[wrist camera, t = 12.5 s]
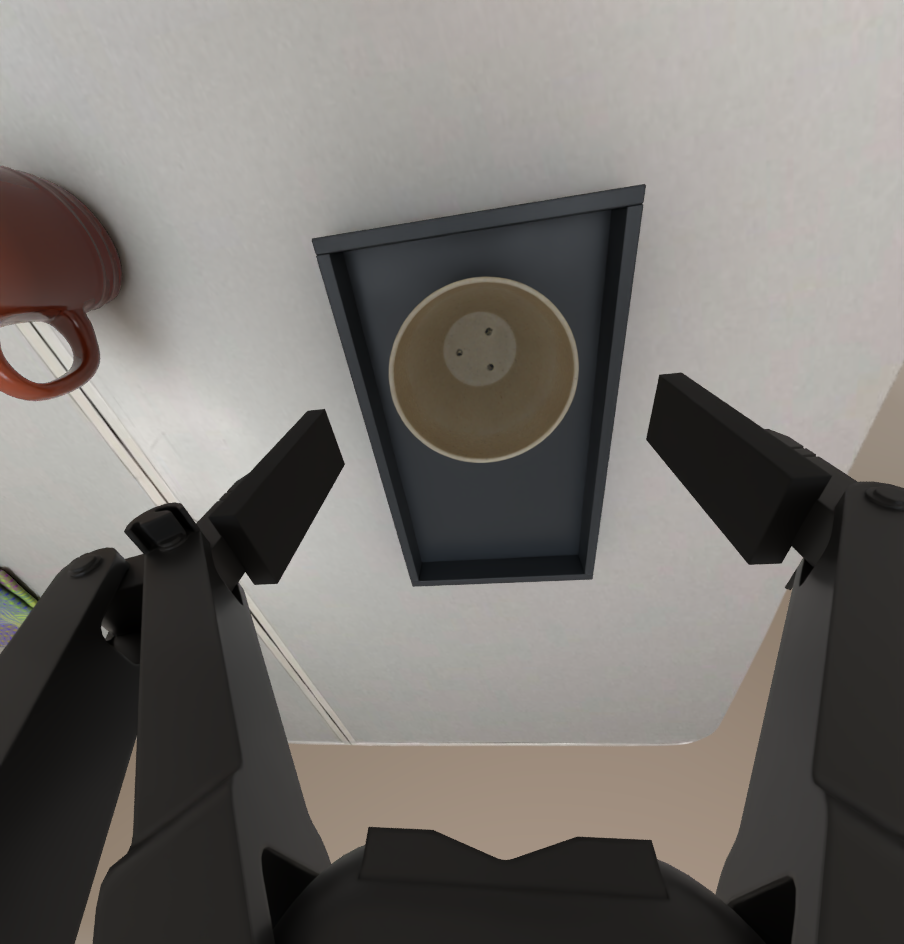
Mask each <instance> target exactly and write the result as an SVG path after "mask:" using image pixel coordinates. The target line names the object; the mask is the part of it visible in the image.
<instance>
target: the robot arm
mask: <svg viewBox="0 0 904 944" xmlns="http://www.w3.org/2000/svg"><path fill="white" fill-rule="evenodd" d="M646 440H647V441H648V442H649V444H650V445H651V446H652V447H653V449H654V450H655V451H656V452H657V453H658V455H659V456H660V457H661V458H662V459H663V461H664V462H665V463H666V464H667V466H668V467H669V468H670V469H671V470H672V472H673V473H674V474H675V475H676V477H677V478H678V479H679V480H680V481H681V483H682V484H683V485H684V486H685V488H686V489H687V490H688V491H689V492H690V494H691V495H692V496H693V497H694V498H695V500H696V501H697V502H698V503H699V505H700V506H701V507H702V508H703V509H704V511H705V512H706V513H707V514H708V516H709V517H710V518H711V519H712V520H713V522H714V523H715V524H716V525H717V526H718V528H719V529H720V530H721V531H722V533H723V534H724V535H725V536H726V537H727V539H728V540H729V541H730V542H731V544H732V545H733V546H734V547H735V548H736V550H737V551H738V552H739V553H740V555H741V556H742V557H743V558H744V559H745V561H746V562H747V563H748V564H749V565H754V564H779V563H782V562H783V560H784V558H785V556H786V555H787V553H788V551H789V550H790V548H791V546H792V547H793V548H794V549H795V550H796V551H797V552H798V553H799V554H800V555H801V556H802V557H803V559H802V561H801V562H800V564H799V566H798V567H797V569H796V571H795V572H794V574H793V575H792V577H791V579H790V580H789V582H788V583H787V585H786V587H785V588H786V589H789V590H791V589H792V588H793V589H792V593H791V598H790V602H789V607H788V611H787V616H786V620H785V625H784V630H783V634H782V639H781V643H780V648H779V652H778V657H777V661H776V666H775V670H774V675H773V679H772V684H771V688H770V694H769V698H768V702H767V707H766V711H765V716H764V720H763V725H762V730H761V734H760V739H759V743H758V748H757V752H756V757H755V761H754V766H753V770H752V775H751V780H750V784H749V788H748V793H747V798H746V802H745V807H744V811H743V816H742V820H741V825H740V828H739V832H738V835H737V838H736V841H735V843H734V845H733V847H732V849H731V851H730V853H729V855H728V857H727V859H726V861H725V865H724V867H723V870H722V872H721V876H720V880H719V883H718V887H717V891H716V895H715V894H714V893H713V892H711V891H710V890H709V889H707V888H706V887H704V886H703V885H702V884H700V883H699V882H697V881H696V880H695V879H693V878H692V877H690V876H689V875H687V874H685V873H684V872H682V871H680V870H678V869H676V868H675V867H673V866H671V865H669V864H667V863H665V862H662V861H660V860H658V859H657V858H656V854H655V851H654V847H653V844H652V840H635V839H615V838H594V837H575V838H572V839H569V840H566V841H563V842H560V843H557V844H555V845H552V846H549V847H546V848H543V849H540V850H537V851H534V852H532V853H528V854H525V855H523V856H520V857H517V858H514V859H510V860H501V859H497V858H495V857H493V856H491V855H488V854H486V853H484V852H482V851H479V850H477V849H475V848H473V847H470V846H468V845H466V844H464V843H461V842H459V841H457V840H454V839H452V838H450V837H448V836H445V835H443V834H441V833H439V832H436V831H434V830H422V829H401V828H380V827H369V828H368V834H367V839H366V844H365V845H364V846H361V847H358V848H357V849H355V850H353V851H351V852H349V853H347V854H345V855H343V856H342V857H341V858H339V859H338V860H336V861H335V862H334V863H332V864H331V862H330V860H329V856H328V853H327V851H326V849H325V846H324V844H323V842H322V839H321V837H320V835H319V834H318V832H317V830H316V828H315V826H314V825H313V823H312V821H311V819H310V816H309V814H308V811H307V808H306V804H305V801H304V797H303V794H302V791H301V787H300V783H299V780H298V776H297V773H296V770H295V766H294V763H293V759H292V756H291V752H290V749H289V745H288V742H287V738H286V735H285V731H284V728H283V724H282V721H281V717H280V714H279V710H278V707H277V703H276V700H275V696H274V693H273V690H272V686H271V683H270V679H269V676H268V672H267V669H266V665H265V662H264V658H263V655H262V651H261V648H260V644H259V641H258V637H257V634H256V630H255V627H254V623H253V620H252V617H251V613H250V610H249V606H248V603H247V599H246V596H245V592H244V589H243V588H242V587H241V585H240V584H239V580H240V579H241V577H242V576H243V574H244V573H245V572H246V573H247V575H248V576H249V578H250V579H251V581H252V582H253V584H254V585H261V584H278V582H279V580H280V579H281V577H282V575H283V573H284V571H285V570H286V568H287V566H288V564H289V563H290V561H291V559H292V557H293V555H294V554H295V552H296V550H297V548H298V547H299V545H300V543H301V541H302V540H303V538H304V536H305V534H306V532H307V531H308V529H309V527H310V525H311V524H312V522H313V520H314V518H315V516H316V515H317V513H318V511H319V509H320V508H321V506H322V504H323V502H324V500H325V499H326V497H327V495H328V493H329V492H330V490H331V488H332V486H333V484H334V483H335V481H336V479H337V477H338V476H339V474H340V472H341V470H342V468H343V467H344V465H345V463H344V461H343V458H342V455H341V452H340V450H339V447H338V444H337V441H336V438H335V436H334V433H333V430H332V427H331V424H330V422H329V419H328V416H327V413H326V411H325V409H321V410H311V411H307V412H306V413H305V414H304V415H303V416H302V417H301V419H300V420H299V421H298V422H297V423H296V424H295V425H294V426H293V427H292V428H291V429H290V430H289V431H288V432H287V433H286V434H285V436H284V437H283V438H282V439H281V440H280V441H279V442H278V443H277V444H276V445H275V446H274V447H273V448H272V449H271V450H270V452H269V453H268V454H267V455H266V456H265V457H264V458H263V459H262V460H261V461H260V462H259V463H258V464H257V465H256V466H255V468H254V469H253V470H252V471H251V472H250V473H249V474H247V475H245V476H244V477H242V478H241V479H239V480H238V481H236V482H235V483H234V485H233V486H232V487H231V488H230V489H229V490H228V491H227V493H225V494H224V495H223V496H222V497H221V498H220V499H219V500H220V501H217V502H216V503H215V504H214V505H213V506H212V507H211V509H210V510H209V511H208V512H207V513H206V514H205V515H204V516H203V517H202V518H201V519H200V520H199V521H198V522H197V523H195V522H194V520H193V519H192V518H191V516H190V515H189V513H188V512H187V511H186V509H185V508H184V507H183V505H182V504H181V503H168V504H164V505H161V506H157V507H155V508H152V509H150V510H148V511H146V512H144V513H143V514H141V515H139V516H138V517H136V518H135V519H134V520H133V521H131V522H130V523H129V524H128V525H127V527H126V529H125V531H124V532H125V533H126V535H127V536H128V537H129V538H130V539H131V540H132V541H133V542H134V544H135V545H136V546H137V547H138V548H139V549H140V550H141V551H142V552H143V554H142V555H138V556H134V557H131V558H127V559H124V558H123V557H122V556H121V555H120V554H119V553H118V552H117V551H116V550H115V549H114V548H102V549H98V550H95V551H92V552H90V553H86V554H84V555H81V556H80V558H79V557H78V558H76V559H74V560H73V561H72V562H71V563H70V564H69V565H67V566H66V567H64V568H63V569H62V570H61V571H60V572H59V573H58V574H57V575H56V577H55V578H54V579H53V581H52V582H51V584H50V585H49V586H48V588H47V589H46V591H45V592H44V593H43V595H42V596H41V598H40V599H39V601H38V602H37V603H36V605H35V606H34V608H33V609H32V610H31V612H30V613H29V615H28V616H27V617H26V619H25V620H24V622H23V623H22V624H21V626H20V627H19V629H18V630H17V631H16V633H15V634H14V636H13V637H12V639H11V640H10V641H9V643H8V644H7V646H6V647H5V648H4V650H3V651H2V653H1V654H0V944H75V940H76V937H77V934H78V930H79V927H80V924H81V920H82V917H83V913H84V910H85V907H86V904H87V900H88V897H89V894H90V890H91V887H92V884H93V880H94V877H95V874H96V870H97V867H98V864H99V860H100V857H101V854H102V850H103V847H104V844H105V840H106V837H107V833H108V830H109V827H110V823H111V820H112V817H113V813H114V810H115V807H116V803H117V800H118V797H119V793H120V790H121V787H122V783H123V780H124V777H125V773H126V770H127V767H128V763H129V760H130V756H131V753H132V750H133V747H134V743H135V740H136V737H137V752H136V777H135V801H134V803H135V804H134V826H133V838H132V844H131V846H130V849H129V851H128V853H127V854H126V855H125V856H124V857H122V858H121V859H120V860H119V861H118V862H116V863H115V864H114V865H113V866H112V867H110V869H109V871H108V872H107V874H106V876H105V878H104V880H103V882H102V884H101V887H100V892H99V897H98V902H97V907H96V915H95V925H94V937H93V944H904V488H901V487H898V486H895V485H891V484H885V483H879V482H857V481H856V480H854V479H852V478H851V477H849V476H848V475H846V474H845V473H843V472H842V471H840V470H839V469H837V468H836V467H834V466H833V465H831V464H830V463H828V462H827V461H825V460H823V459H822V458H820V457H816V454H814V453H813V452H811V451H810V450H808V449H807V448H805V449H804V448H803V446H802V445H801V444H799V443H797V442H796V441H794V440H793V439H791V438H790V437H788V436H785V435H783V434H780V433H778V432H775V431H772V430H770V429H763V428H762V427H760V426H759V425H757V424H756V423H754V422H753V421H752V420H750V419H749V418H747V417H746V416H744V415H743V414H741V413H740V412H738V411H737V410H735V409H734V408H732V407H731V406H730V405H728V404H727V403H725V402H724V401H722V400H721V399H719V398H718V397H716V396H715V395H713V394H712V393H711V392H709V391H708V390H706V389H705V388H703V387H702V386H700V385H699V384H697V383H696V382H694V381H693V380H692V379H690V378H689V377H687V376H686V375H684V374H683V373H672V374H663V375H659V379H658V384H657V389H656V394H655V399H654V404H653V409H652V414H651V418H650V423H649V428H648V433H647V438H646ZM101 625H102V626H103V627H104V628H105V629H106V630H108V631H109V632H108V634H107V637H106V639H105V638H104V637H103V635H102V631H101Z"/></svg>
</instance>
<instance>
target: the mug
mask: <svg viewBox="0 0 904 944" xmlns="http://www.w3.org/2000/svg"><path fill="white" fill-rule="evenodd" d="M121 283H122V268H121V263H120V259H119V256H118V253H117V250H116V248H115V245H114V243H113V241H112V239H111V238H110V236H109V234H108V232H107V231H106V229H105V228H104V226H103V225H102V224H101V222H100V221H99V220H98V219H97V217H96V216H95V215H94V214H93V213H92V212H91V211H90V210H89V209H88V208H87V207H86V206H85V205H84V204H83V203H82V202H81V201H80V200H79V199H77V198H76V197H75V196H74V195H72V194H71V193H70V192H68V191H67V190H65V189H64V188H62V187H60V186H58V185H56V184H54V183H52V182H50V181H48V180H45V179H42V178H39V177H36V176H34V175H31V174H29V173H26V172H22V171H18V170H14V169H11V168H8V167H5V166H1V165H0V327H4V326H7V325H12V324H18V323H26V322H45V323H48V324H50V325H52V326H53V327H54V328H56V329H57V330H58V331H59V332H60V333H61V334H62V335H63V336H64V337H65V339H66V340H67V341H68V343H69V344H70V346H71V348H72V351H73V356H74V361H73V364H72V367H71V368H70V370H69V371H68V372H66V373H65V374H64V375H62V376H61V377H59V378H57V379H55V380H53V381H51V382H48V383H35V382H32V381H30V380H28V379H26V378H24V377H23V376H21V375H20V374H19V373H18V372H17V371H15V370H14V369H13V368H12V366H11V365H10V364H9V363H8V361H7V360H6V358H5V357H4V355H3V352H2V349H1V344H0V391H1V392H3V393H5V394H7V395H10V396H12V397H15V398H18V399H23V400H28V401H42V400H49V399H53V398H57V397H59V396H62V395H65V394H67V393H70V392H72V391H74V390H76V389H78V388H79V387H81V386H83V385H84V384H86V383H87V382H88V381H89V380H90V379H91V378H92V377H93V376H94V374H95V373H96V371H97V369H98V367H99V364H100V351H99V346H98V343H97V339H96V335H95V332H94V329H93V326H92V324H91V322H90V320H89V318H88V317H87V315H86V313H87V312H89V311H91V310H95V309H98V308H100V307H101V306H103V305H104V304H107V303H109V302H110V301H112V300H113V299H114V298H115V297H116V296H117V295H118V294H119V292H120V288H121Z"/></svg>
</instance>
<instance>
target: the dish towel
mask: <svg viewBox="0 0 904 944" xmlns="http://www.w3.org/2000/svg"><path fill="white" fill-rule="evenodd" d="M37 602H38V601H37V600H36V599H35V598H33V597H32V596H31V595H30V594H29V593H27V592H26V591H25V590H24V589H23V588H22V587H21V586H20V585H18V584H17V582H16V581H15V580H14V579H13V578H12V577H11V576H10V575H8V574H7V573H6V572H5V571H3V570H0V647H6V646H7V644H8V643H9V641H10V640H11V639H12V637H13V636H14V634H15V633H16V631H17V630H18V629H19V627H20V626H21V624H22V623H23V622H24V620H25V619H26V617H27V616H28V615H29V613H30V612H31V610H32V609H33V608H34V606H35V605H36V603H37Z"/></svg>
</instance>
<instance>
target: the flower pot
mask: <svg viewBox="0 0 904 944" xmlns="http://www.w3.org/2000/svg"><path fill="white" fill-rule="evenodd" d="M487 329H488V332H487V333H486V330H487ZM458 353H461V354H462V355H460V356H459V355H457V354H458ZM490 364H492V365H493V367H491V366H490ZM578 373H579V361H578V352H577V347H576V342H575V339H574V336H573V334H572V331H571V329H570V327H569V325H568V323H567V321H566V320H565V318H564V317H563V315H562V314H561V313H560V311H559V310H558V309H557V308H556V306H555V305H554V304H553V303H552V302H551V301H550V300H548V299H547V298H546V297H545V296H544V295H542V294H541V293H539V292H538V291H536V290H535V289H533V288H531V287H529V286H527V285H525V284H523V283H520V282H517V281H514V280H510V279H506V278H498V277H474V278H468V279H464V280H460V281H457V282H454V283H451V284H449V285H446V286H444V287H443V288H440V289H438V290H437V291H435V292H433V293H432V294H430V295H429V296H428V297H427V298H425V299H424V300H423V301H422V302H421V303H420V304H418V305H417V306H416V307H415V308H414V310H413V311H412V312H411V313H410V314H409V315H408V317H407V318H406V320H405V321H404V323H403V324H402V326H401V328H400V330H399V332H398V334H397V336H396V338H395V341H394V344H393V347H392V351H391V355H390V360H389V384H390V391H391V395H392V399H393V402H394V405H395V407H396V410H397V412H398V413H399V415H400V417H401V419H402V421H403V422H404V424H405V425H406V426H407V428H408V429H409V430H410V431H411V432H412V434H413V435H414V436H415V437H416V438H418V439H419V440H420V441H421V442H422V443H423V444H425V445H426V446H428V447H429V448H431V449H432V450H434V451H436V452H438V453H440V454H442V455H444V456H447V457H450V458H453V459H456V460H460V461H465V462H474V463H488V462H496V461H501V460H506V459H509V458H512V457H515V456H518V455H520V454H522V453H524V452H526V451H528V450H530V449H531V448H533V447H535V446H536V445H538V444H539V443H540V442H542V441H543V440H544V439H545V438H546V437H547V436H549V435H550V434H551V433H552V432H553V430H554V429H555V428H556V427H557V426H558V425H559V423H560V422H561V421H562V419H563V418H564V416H565V414H566V413H567V411H568V409H569V407H570V405H571V403H572V401H573V398H574V395H575V391H576V387H577V381H578Z"/></svg>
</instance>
